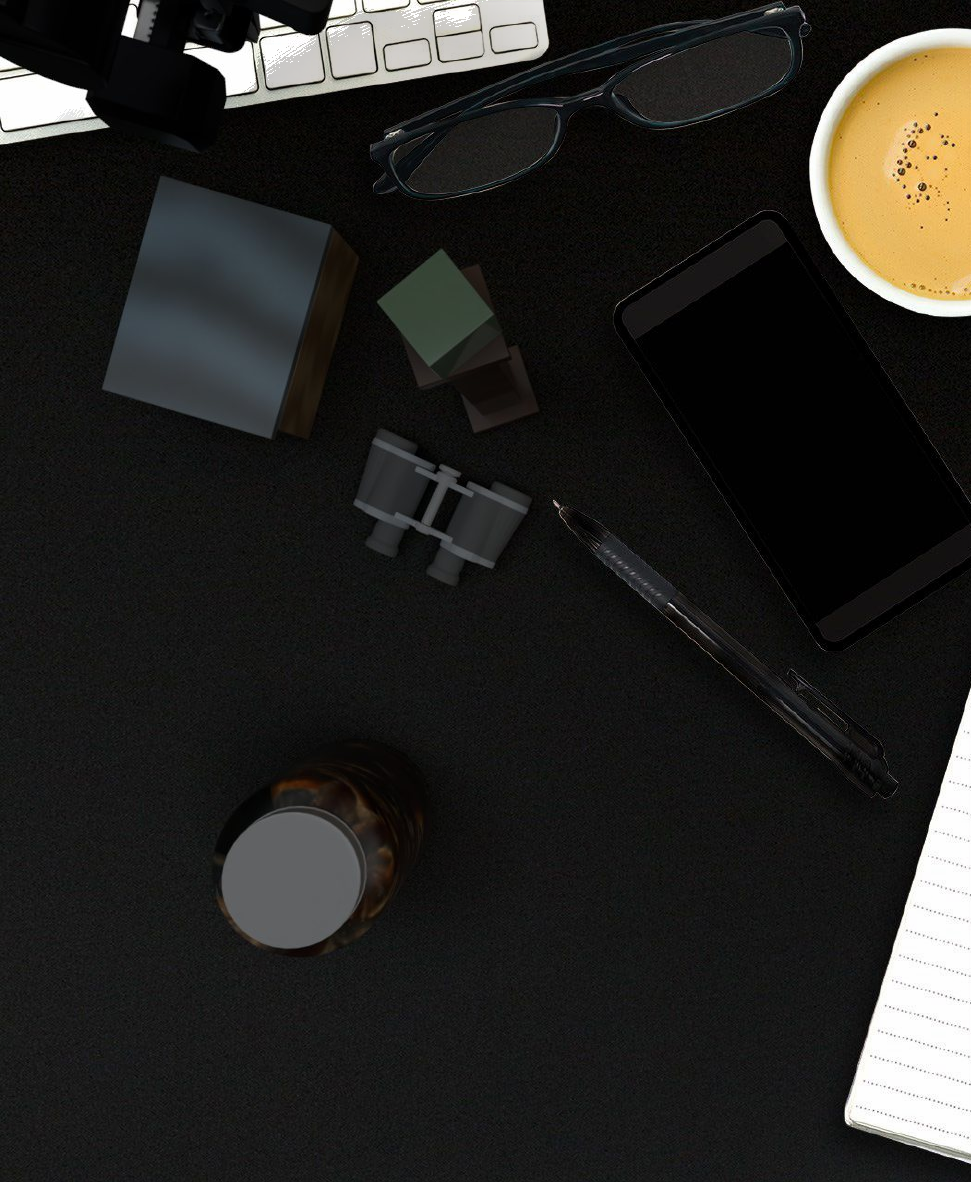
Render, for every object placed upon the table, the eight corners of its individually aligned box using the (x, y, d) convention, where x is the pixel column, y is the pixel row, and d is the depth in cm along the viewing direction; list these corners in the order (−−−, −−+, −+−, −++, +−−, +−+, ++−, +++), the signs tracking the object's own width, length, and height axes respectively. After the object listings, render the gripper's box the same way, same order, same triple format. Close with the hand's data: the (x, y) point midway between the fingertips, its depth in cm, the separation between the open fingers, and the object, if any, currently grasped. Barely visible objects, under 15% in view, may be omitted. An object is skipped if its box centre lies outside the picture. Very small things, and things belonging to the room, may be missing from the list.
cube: (393, 319, 54) (376, 301, 50) (454, 270, 54) (441, 247, 50) (442, 381, 54) (428, 367, 50) (503, 331, 54) (494, 314, 50)
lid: (274, 440, 70) (271, 439, 69) (107, 391, 70) (101, 389, 69) (334, 228, 69) (331, 224, 68) (165, 179, 69) (160, 174, 68)
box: (308, 440, 76) (278, 429, 70) (156, 395, 77) (111, 380, 70) (360, 257, 76) (334, 228, 69) (206, 212, 76) (165, 179, 69)
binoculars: (534, 499, 76) (530, 496, 73) (488, 599, 77) (482, 602, 73) (384, 429, 76) (373, 423, 73) (339, 530, 77) (325, 529, 73)
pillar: (453, 369, 76) (386, 295, 54) (518, 346, 76) (478, 262, 54) (475, 435, 76) (418, 388, 54) (541, 412, 76) (510, 356, 54)
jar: (296, 719, 77) (219, 759, 62) (450, 760, 77) (410, 810, 62) (257, 873, 78) (172, 950, 63) (410, 914, 78) (361, 1001, 63)
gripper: (246, 118, 47) (338, 226, 63) (360, -295, 47) (424, -82, 62) (9, 49, 47) (159, 174, 63) (119, -364, 47) (244, -134, 62)
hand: (251, 35), depth 63 cm, fingers closed
